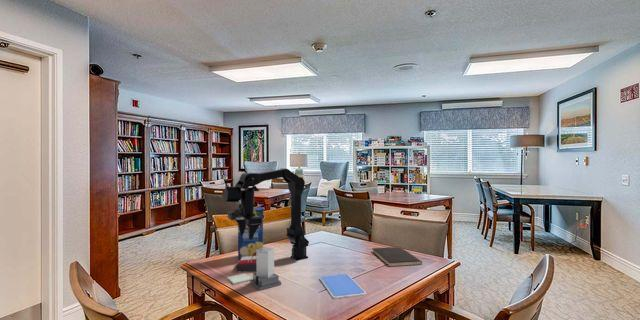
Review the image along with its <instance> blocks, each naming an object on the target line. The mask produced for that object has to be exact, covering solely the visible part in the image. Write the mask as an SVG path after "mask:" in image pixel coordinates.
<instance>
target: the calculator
mask: <svg viewBox="0 0 640 320" xmlns="http://www.w3.org/2000/svg"><path fill="white" fill-rule="evenodd" d="M235 266H236V272H239V273H240V272H241V273H242V272H257V261H256V256H253V257H252V256H248V257H242V258H241V259H240V260H238V263H237V264H236V265H235Z"/></svg>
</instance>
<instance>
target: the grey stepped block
mask: <svg viewBox="0 0 640 320" xmlns="http://www.w3.org/2000/svg"><path fill="white" fill-rule="evenodd" d="M256 261H257V271H256V272H257V276H259V277H267V278H268V277H270V276H271V275H272V274H275V247H270V246H269V247H268V246H263V247H261V248H260V249H258V250H256Z"/></svg>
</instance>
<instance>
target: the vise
mask: <svg viewBox="0 0 640 320" xmlns="http://www.w3.org/2000/svg"><path fill="white" fill-rule="evenodd" d="M249 283H250V284H252V286H254V287H255V288H256V289H257V290H258V291H262V290H268V289H270V288H273V287H278V286H281V285H282V281H281V279H280V278H279V275H278V274H276V273H274V274H272V275H271V276H270V277H268V278H267V277H259V276H257V271H255V272H253V273H252V280H250V281H249Z"/></svg>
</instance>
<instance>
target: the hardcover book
mask: <svg viewBox="0 0 640 320" xmlns="http://www.w3.org/2000/svg"><path fill="white" fill-rule="evenodd" d="M371 250H372V253H374V254H375V255H376V256H377V257H378V258H379V259H381V260H382V261H383V262H384V263H385V264H386V265H387V266H389V267H398V266H413V265H422V264H423V262H422V260H421V259H420V258H418V257H416V256H414V255H413V254H411V253H410V252H408V251H407V250H405V249H404V248H403V247H401V246H389V247H374V248H372V249H371Z"/></svg>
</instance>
